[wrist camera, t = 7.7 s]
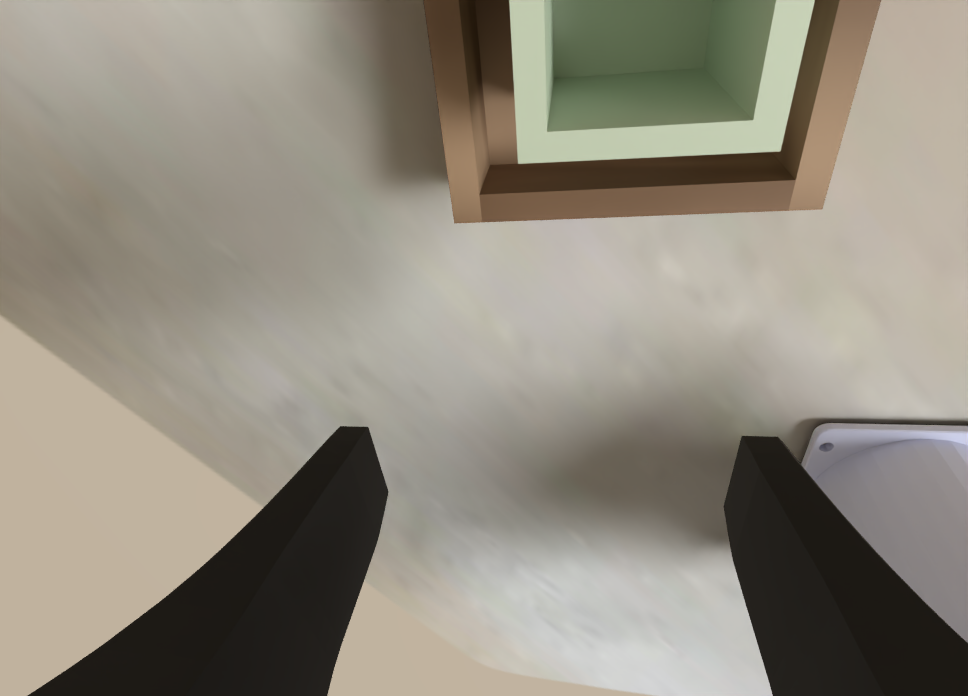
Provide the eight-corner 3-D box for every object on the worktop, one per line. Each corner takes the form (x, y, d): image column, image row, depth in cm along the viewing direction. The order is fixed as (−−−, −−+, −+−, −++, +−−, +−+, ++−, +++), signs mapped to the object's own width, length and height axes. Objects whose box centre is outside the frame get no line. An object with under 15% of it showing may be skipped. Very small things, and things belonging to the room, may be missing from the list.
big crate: (786, 169, 16) (822, 209, 14) (470, 184, 18) (454, 223, 16) (898, -321, 11) (991, -392, 8) (421, -236, 12) (385, -275, 10)
